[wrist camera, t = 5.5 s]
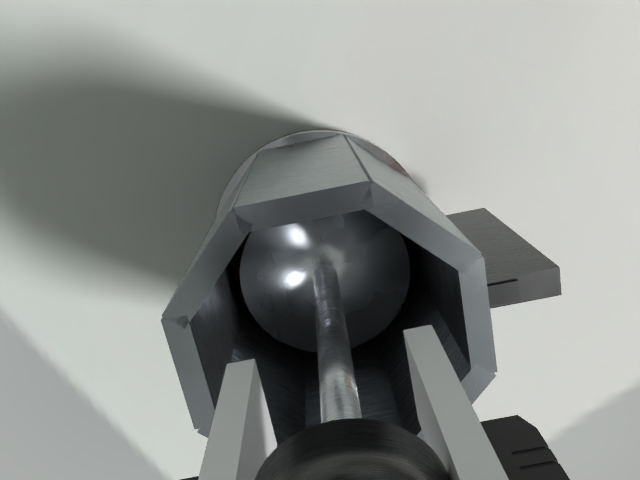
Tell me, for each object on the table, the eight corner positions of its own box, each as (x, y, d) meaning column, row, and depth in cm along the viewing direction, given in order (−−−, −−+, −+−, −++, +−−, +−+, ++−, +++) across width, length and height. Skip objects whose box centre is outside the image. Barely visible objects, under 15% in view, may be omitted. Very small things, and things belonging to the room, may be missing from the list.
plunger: (224, 206, 23) (76, 479, 8) (393, 172, 23) (572, 385, 8) (262, 357, 25) (203, 800, 10) (417, 327, 25) (597, 733, 10)
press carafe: (192, 153, 28) (114, 217, 16) (457, 99, 27) (570, 125, 16) (243, 346, 31) (208, 514, 19) (481, 300, 30) (590, 443, 19)
